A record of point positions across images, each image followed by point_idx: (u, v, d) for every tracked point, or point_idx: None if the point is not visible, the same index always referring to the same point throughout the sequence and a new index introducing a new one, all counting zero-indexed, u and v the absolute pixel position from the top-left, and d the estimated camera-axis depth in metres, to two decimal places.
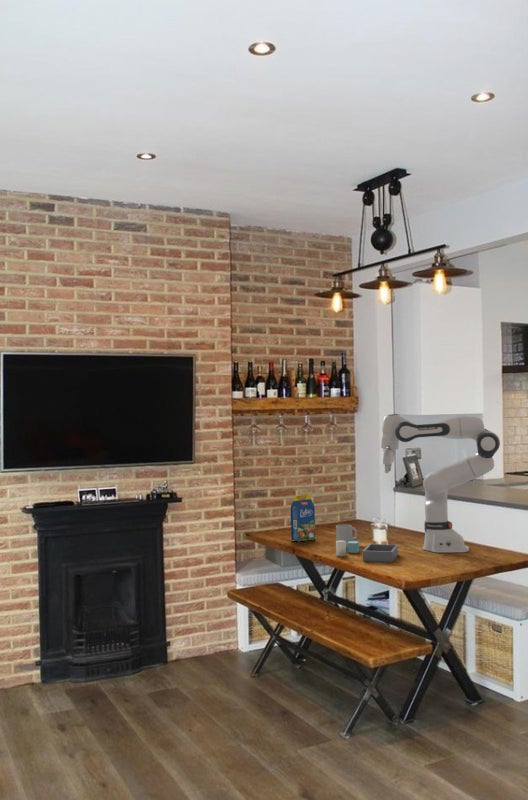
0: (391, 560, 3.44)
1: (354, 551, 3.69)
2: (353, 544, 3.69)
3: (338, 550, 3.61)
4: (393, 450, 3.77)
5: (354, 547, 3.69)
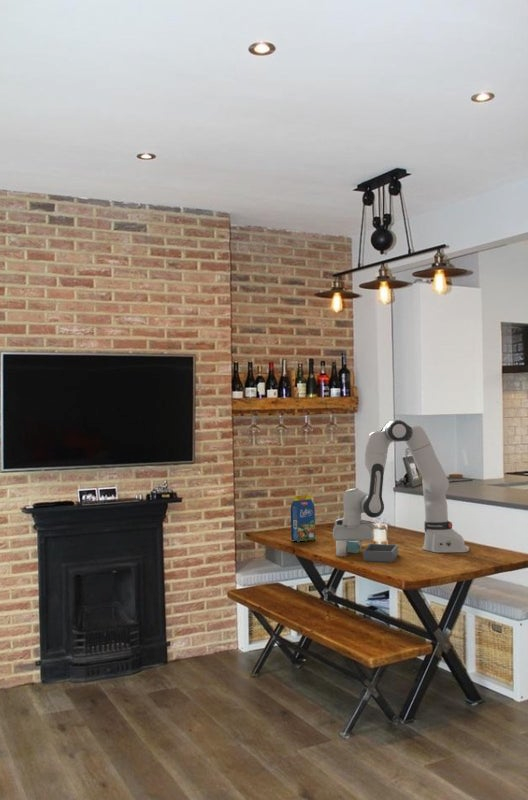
0: (391, 560, 3.44)
1: (354, 551, 3.69)
2: (353, 544, 3.69)
3: (338, 550, 3.61)
4: None
5: (354, 547, 3.69)
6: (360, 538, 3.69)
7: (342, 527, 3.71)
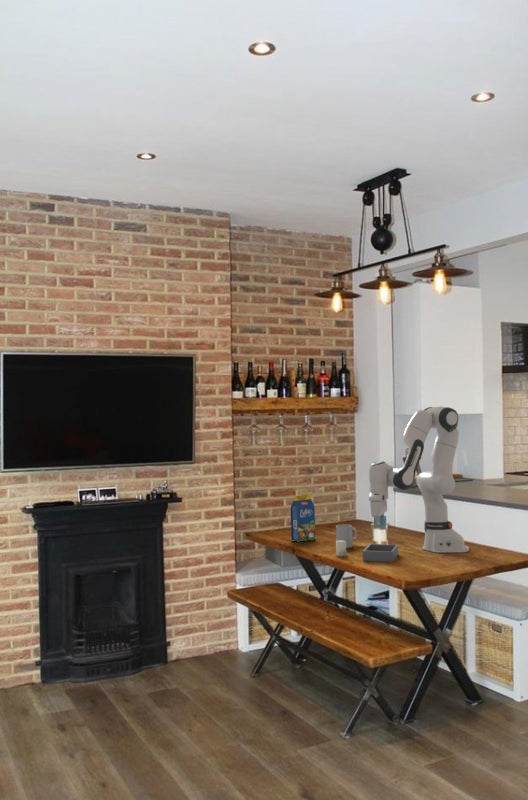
0: (391, 560, 3.44)
1: (385, 525, 3.59)
2: (385, 518, 3.59)
3: (338, 550, 3.61)
4: None
5: (385, 521, 3.59)
6: (385, 511, 3.63)
7: (382, 502, 3.54)
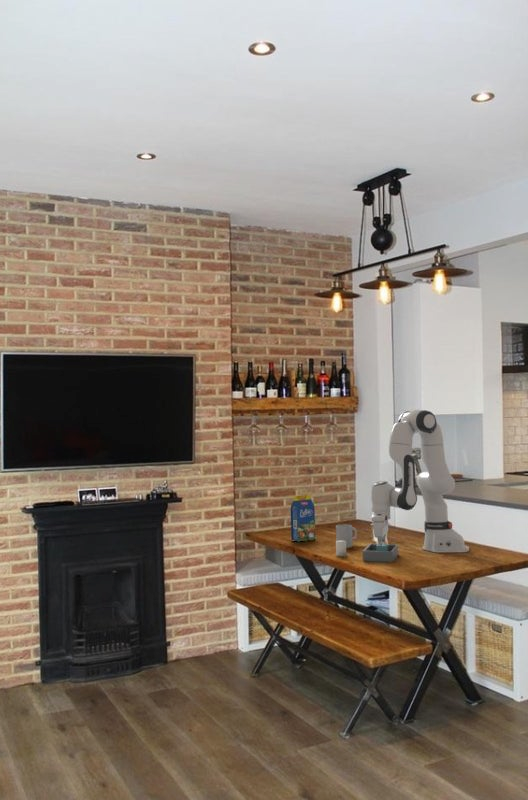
0: (391, 560, 3.44)
1: None
2: (387, 546, 3.58)
3: (338, 550, 3.61)
4: None
5: (387, 549, 3.58)
6: (386, 531, 3.62)
7: (384, 523, 3.53)
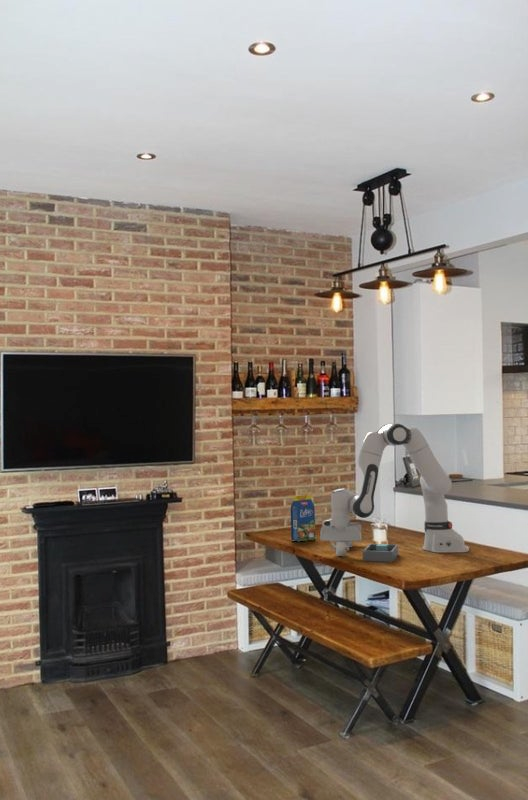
0: (391, 560, 3.44)
1: None
2: (387, 546, 3.58)
3: (338, 550, 3.61)
4: None
5: (387, 549, 3.58)
6: (348, 539, 3.60)
7: (330, 528, 3.63)
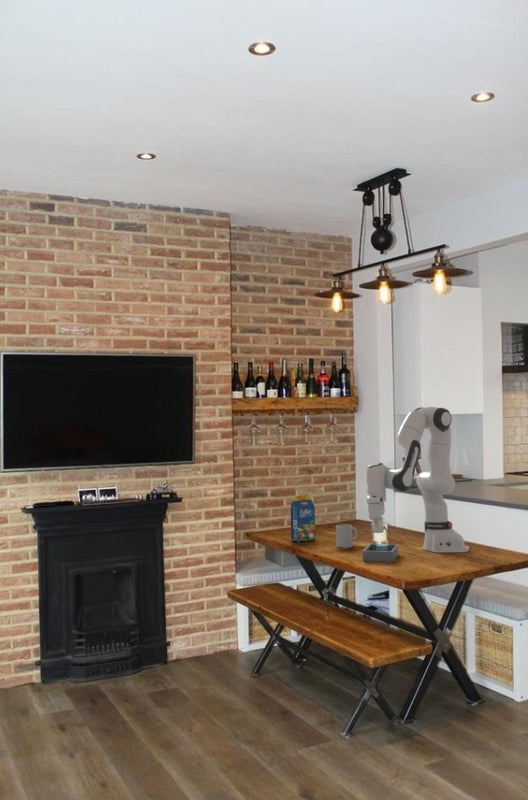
0: (391, 560, 3.44)
1: None
2: (387, 546, 3.58)
3: (382, 526, 3.50)
4: None
5: (387, 549, 3.58)
6: (382, 513, 3.55)
7: (379, 505, 3.46)
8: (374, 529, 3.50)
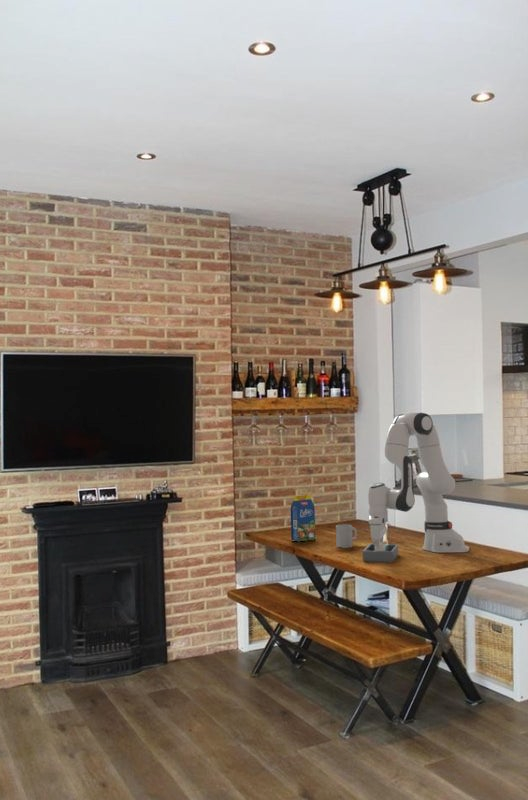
0: (391, 560, 3.44)
1: None
2: (387, 546, 3.58)
3: None
4: None
5: (387, 549, 3.58)
6: (384, 534, 3.54)
7: (381, 525, 3.45)
8: None
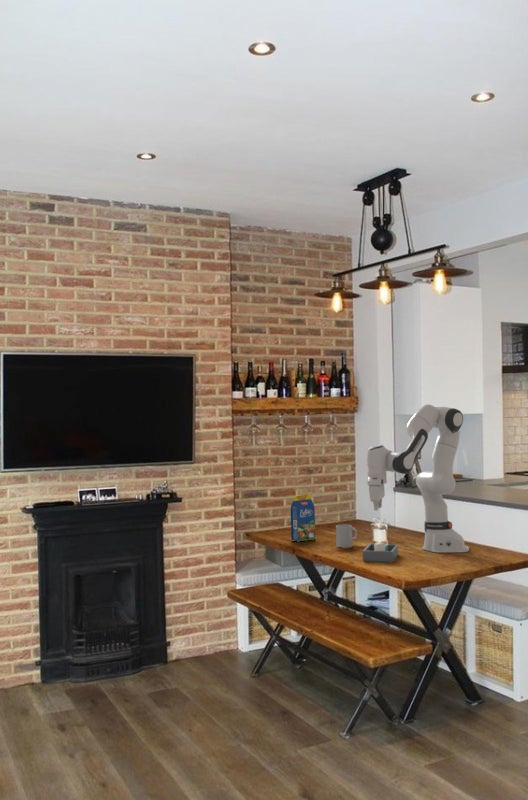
0: (391, 560, 3.44)
1: None
2: (387, 546, 3.58)
3: None
4: None
5: (387, 549, 3.58)
6: (382, 496, 3.54)
7: (380, 487, 3.46)
8: None
